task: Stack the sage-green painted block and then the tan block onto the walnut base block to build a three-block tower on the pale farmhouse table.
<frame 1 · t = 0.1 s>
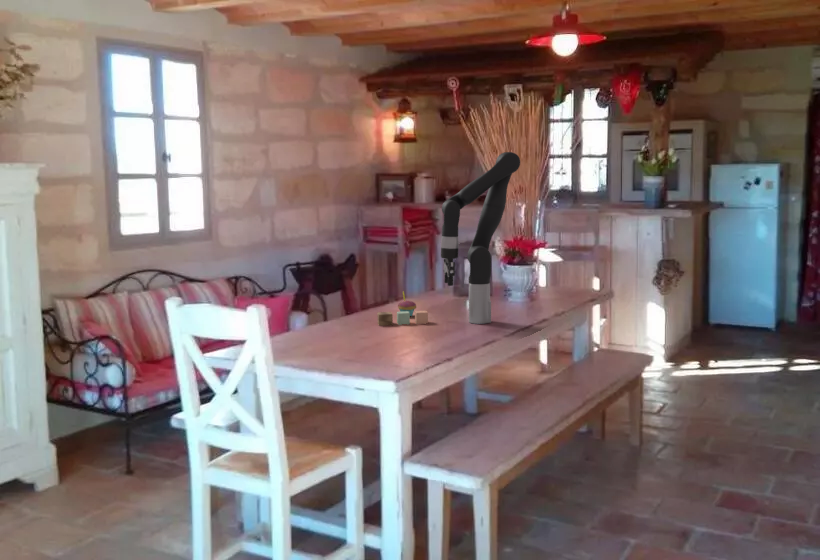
hand: (448, 284, 372), 17 cm above the table, tool pointing down, fingers open, 8 cm apart
walnut base: (385, 324, 375), on the table
tan block: (421, 323, 377), on the table
cupcake: (407, 316, 394), on the table
sage block: (403, 323, 376), on the table
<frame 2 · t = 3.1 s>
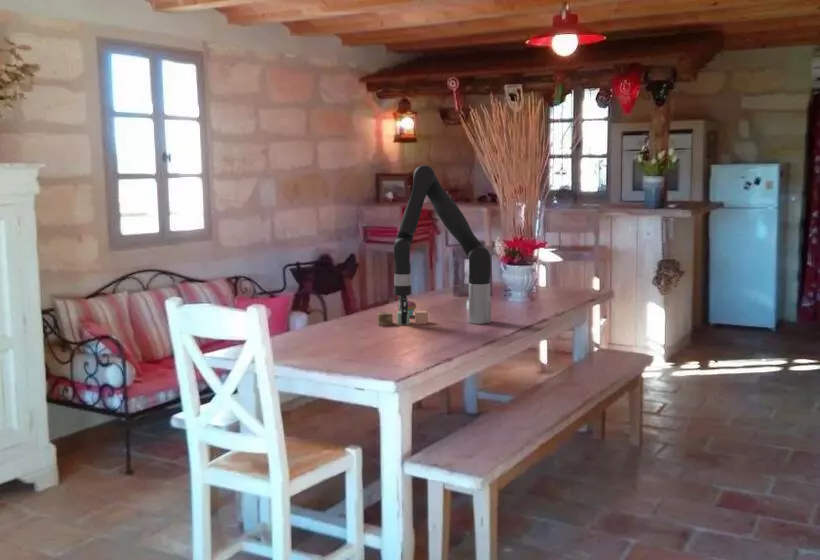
hand: (403, 322, 376), 0 cm above the table, tool pointing down, fingers closed on sage block, 5 cm apart
sage block: (403, 323, 376), on the table, touching gripper
everything else where it was.
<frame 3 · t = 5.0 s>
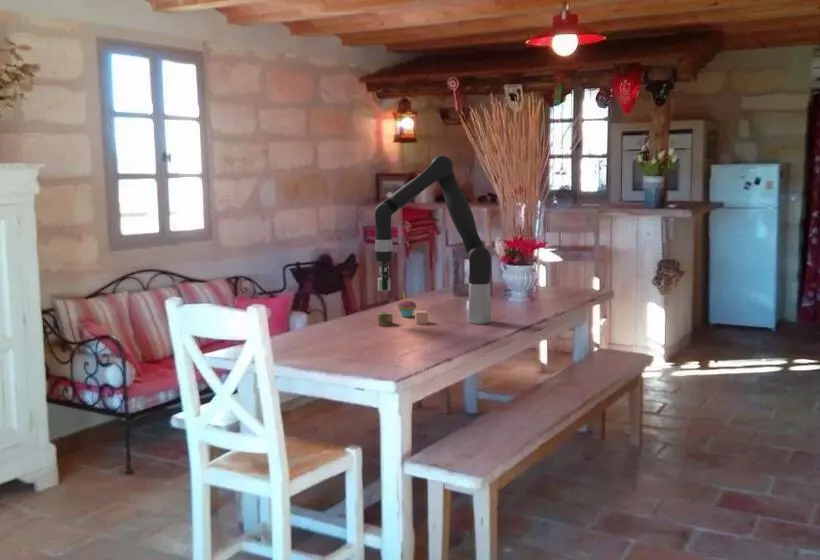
hand: (384, 288, 373), 16 cm above the table, tool pointing down, fingers closed on sage block, 5 cm apart
sage block: (384, 290, 373), point 15 cm above the table, touching gripper
everything else where it was.
when the fingers open (6 cm above the table, at t = 7.1 s): sage block moves 1 cm, resting on walnut base.
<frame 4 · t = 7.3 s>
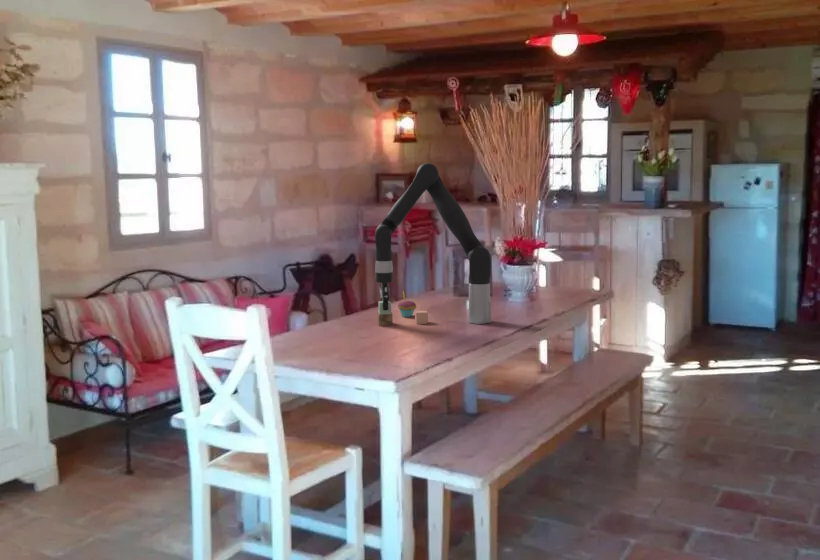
hand: (384, 308, 374), 7 cm above the table, tool pointing down, fingers open, 7 cm apart
walnut base: (385, 324, 375), on the table, touching sage block
sage block: (384, 313, 374), point 5 cm above the table, touching walnut base
everything else where it was.
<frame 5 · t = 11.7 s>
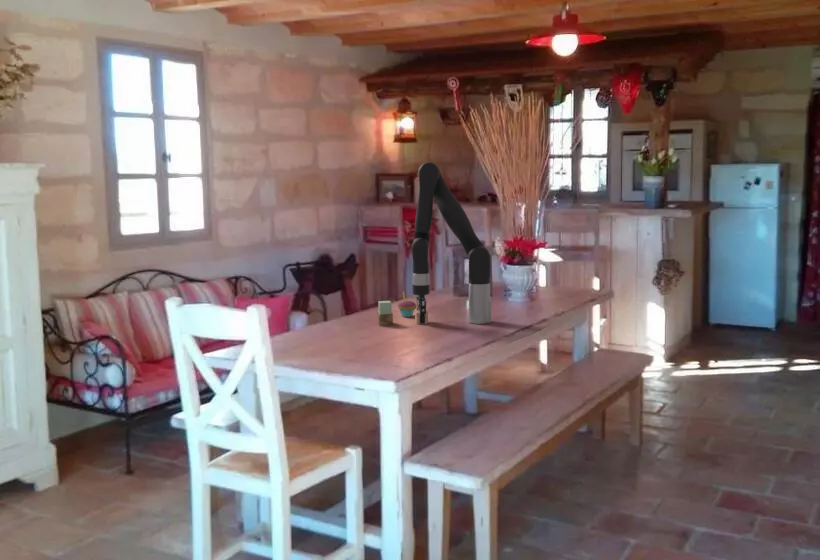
hand: (421, 321, 377), 0 cm above the table, tool pointing down, fingers closed on tan block, 5 cm apart
tan block: (421, 322, 377), on the table, touching gripper
everything else where it was.
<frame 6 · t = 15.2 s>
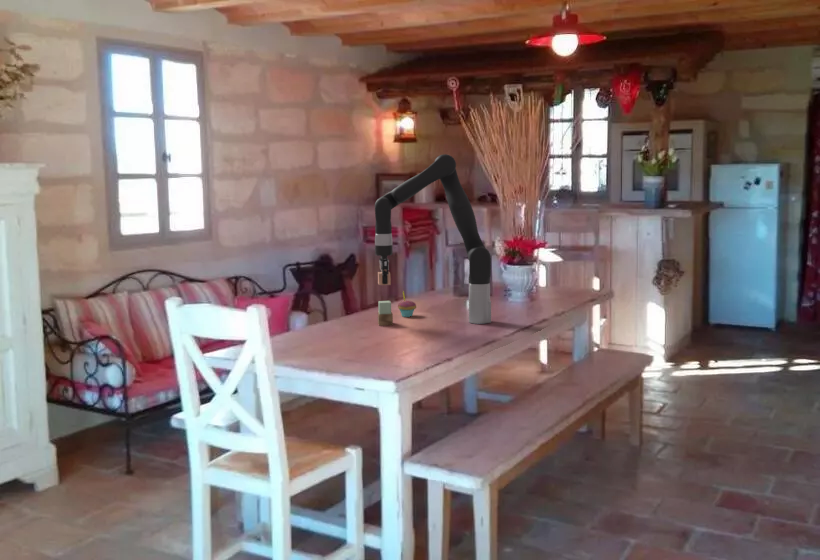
hand: (384, 283, 373), 18 cm above the table, tool pointing down, fingers closed on tan block, 5 cm apart
tan block: (384, 284, 373), point 18 cm above the table, touching gripper
everything else where it was.
when the fingers open (11 cm above the table, at t = 16.8 s): tan block drops 1 cm, resting on sage block.
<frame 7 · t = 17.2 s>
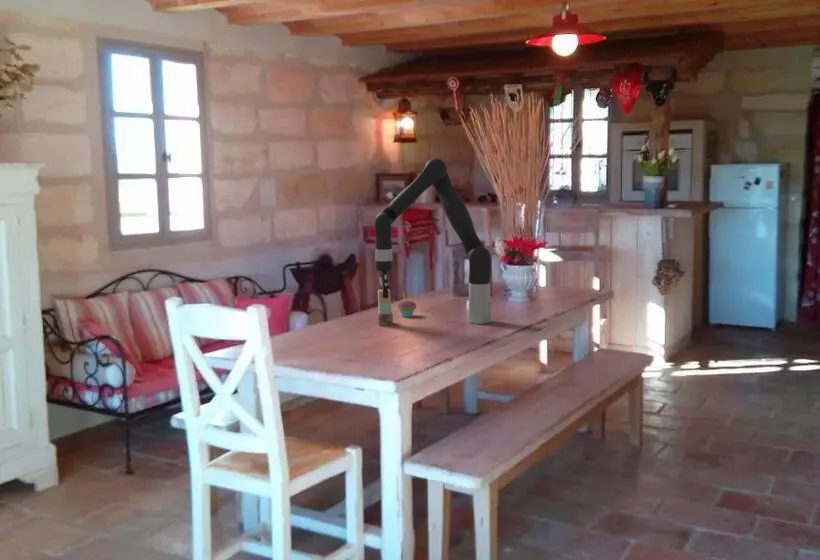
hand: (384, 296, 373), 12 cm above the table, tool pointing down, fingers open, 8 cm apart
tan block: (384, 301, 374), point 10 cm above the table, touching sage block
sage block: (384, 313, 374), point 5 cm above the table, touching tan block, walnut base
everything else where it was.
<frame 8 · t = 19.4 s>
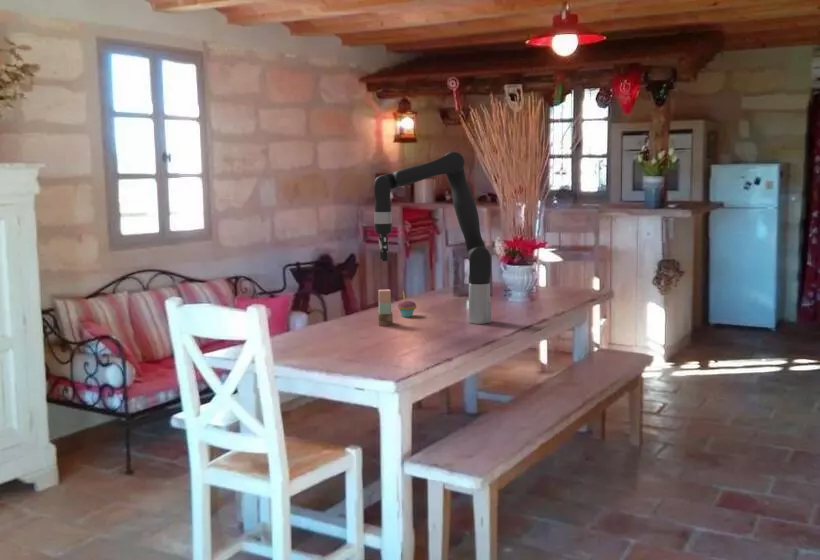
hand: (383, 260, 371), 28 cm above the table, tool pointing down, fingers open, 8 cm apart
nothing on the table moved.
at the end: sage block 0.2 cm off-centre on the walnut base, point 5.0 cm above the walnut base's base; tan block 0.2 cm off-centre on the walnut base, point 10.0 cm above the walnut base's base; tan block tilted 0° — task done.
